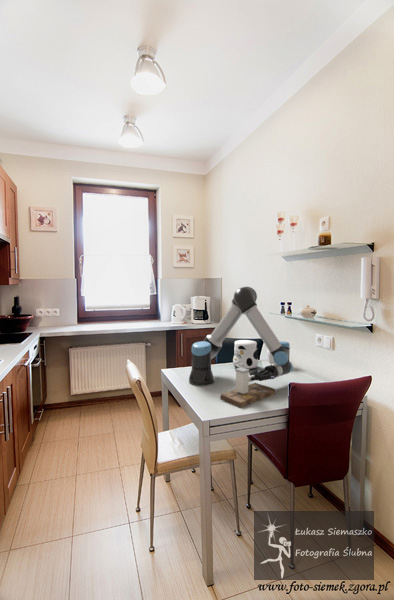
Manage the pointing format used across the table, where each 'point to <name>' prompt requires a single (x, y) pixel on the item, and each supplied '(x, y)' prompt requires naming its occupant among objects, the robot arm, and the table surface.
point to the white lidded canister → (242, 380)
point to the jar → (270, 358)
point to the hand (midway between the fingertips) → (245, 380)
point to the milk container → (245, 354)
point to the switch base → (248, 395)
